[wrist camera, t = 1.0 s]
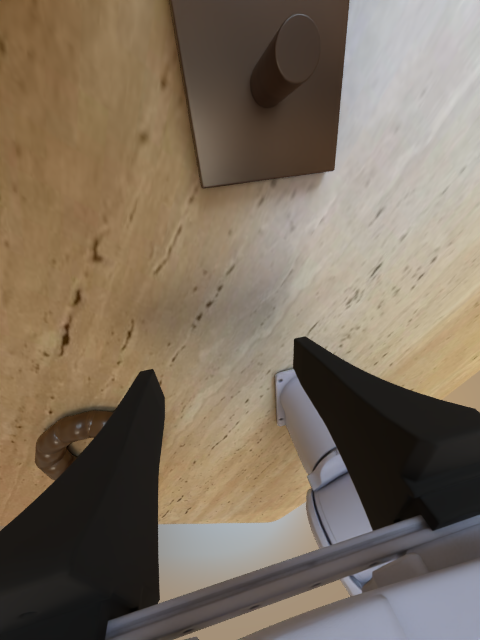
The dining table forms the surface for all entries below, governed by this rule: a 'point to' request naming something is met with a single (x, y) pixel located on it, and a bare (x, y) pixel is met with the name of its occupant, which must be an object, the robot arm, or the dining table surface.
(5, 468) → the dining table surface
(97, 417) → the segmented ring
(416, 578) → the robot arm
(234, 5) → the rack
